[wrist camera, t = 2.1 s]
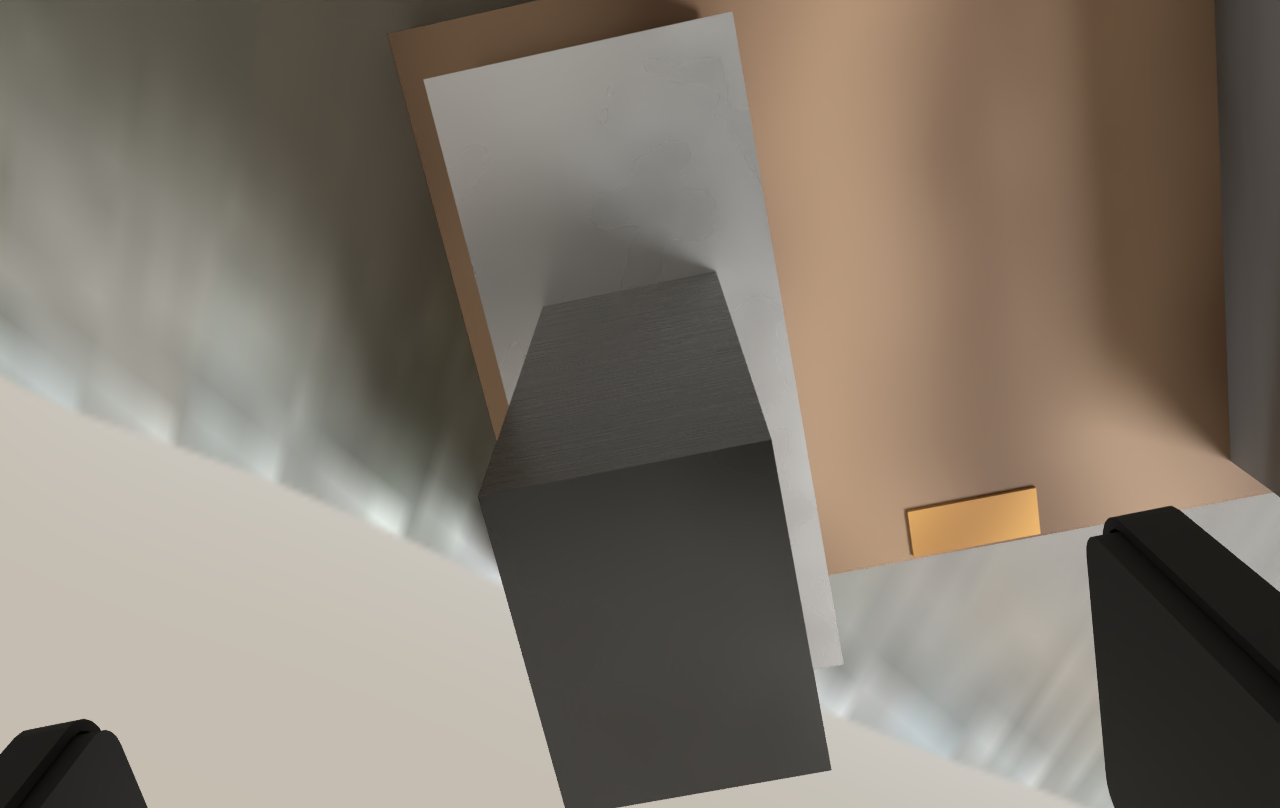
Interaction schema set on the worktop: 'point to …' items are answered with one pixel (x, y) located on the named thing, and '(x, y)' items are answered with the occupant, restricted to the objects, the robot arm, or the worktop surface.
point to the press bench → (982, 247)
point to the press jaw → (643, 415)
